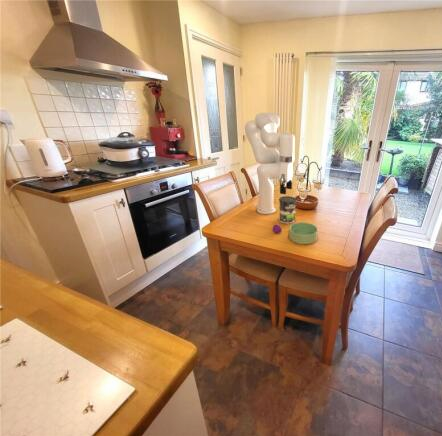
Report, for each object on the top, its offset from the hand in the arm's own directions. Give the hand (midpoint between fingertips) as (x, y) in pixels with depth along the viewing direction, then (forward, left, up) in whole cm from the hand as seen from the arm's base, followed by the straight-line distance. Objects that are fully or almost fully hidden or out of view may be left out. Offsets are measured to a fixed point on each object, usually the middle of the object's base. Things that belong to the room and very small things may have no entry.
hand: (286, 191), depth 127 cm
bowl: (+13, -6, -23) cm, 27 cm away
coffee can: (-3, +11, -23) cm, 25 cm away
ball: (-2, -7, -20) cm, 22 cm away
